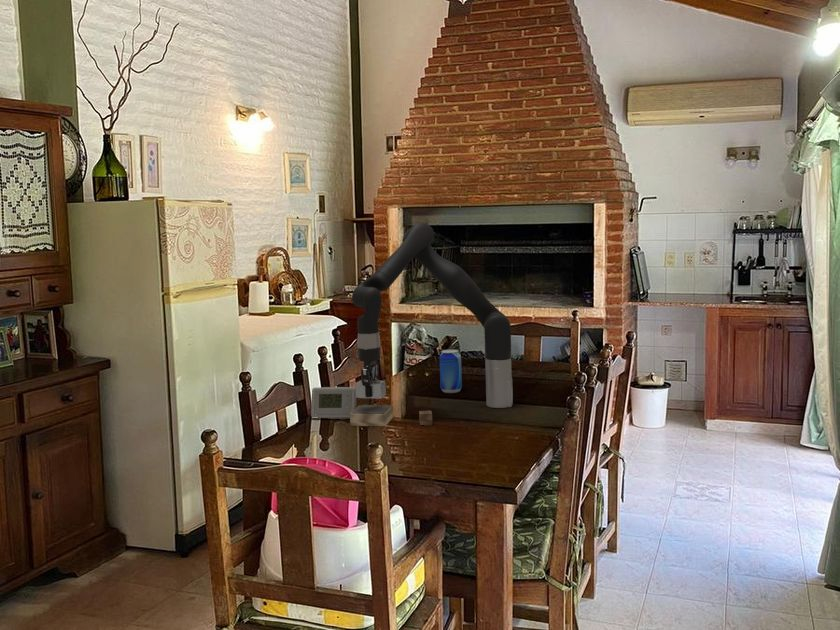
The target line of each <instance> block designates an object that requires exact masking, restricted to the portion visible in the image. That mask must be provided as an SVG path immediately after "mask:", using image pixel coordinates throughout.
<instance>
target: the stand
mask: <svg viewBox="0 0 840 630" xmlns="http://www.w3.org/2000/svg"><path fill="white" fill-rule="evenodd" d="M393 418H394V405H390V404H389V405H386V404H385V405H383V404H380V405H379V404H377V405H376V404H373V405H372V404H370V405H369V404H361V405H360V404H359V405H358V406H356V409H355V410H354V411H353V412H352V413H351V414H350V419H349V422H350V425H349V426H350V427H354V426H356V427H386V426H387V425H388V424H389V423H390V422H391V421H392V419H393Z"/></svg>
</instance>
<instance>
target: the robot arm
mask: <svg viewBox="0 0 840 630" xmlns="http://www.w3.org/2000/svg"><path fill="white" fill-rule="evenodd" d="M434 233H435V232H434V229H433V228H432V227H431V225H429V224H428V223H426V222H422V221H421V222H417V223H415V224H413V225H412V226H411V227H410V228H409V229H407V231H406V232H405V233H404V235H403V236H402V243H401V244H400V245H399V246H398V247H397V249H396V250H395V251H394V252H393V253H392V254H391V255H390V256H389V257H387V259H386V260H384V262H383V263H382V264H380V266H378V268H377V270H376V271H375V272H374V273H373V274H372V275H371V276H369V277H368V278H366V279H365V280H363V281H362V282H361V283H360V284H358V285H357V286H356V287H355V288H354V290H353V292H352V294H351V302H352V304H353V305H354V306H356V307H357V308H361V309H362V308H363V309H364V313H363V314H362V315H361V314H360V315H359V316H358V317H357V320H356V321H357V323H356V324H357V339H356V340H357V358H358V361H360V362H363V366H362V368H361V369H360V374H361V380H362V385H363V386H365V396H366V397H372V380H379V360H380V359H381V339H380V333H379V331H380V330H379V317H380V314H381V308H382V305H383V304H382V303H383V298H382V294H381V292H385V291H387V290H388V289H389V288H390V287H391V286H392V284H394V282H395V281H396V280H397V279H398V278H399V276H401V274H402V273H403V271H405V268H406V267H407V266H408V265H409V264H410V262H411V261H413V259H416V261H418V262H419V264H420V263H421V264H422V266H423V267H424V268H425V269H426V270H427V271H428V272H429V273H430V274H431V275H432V276H433V277H434V278H435V279H436V280H437V281H438V282H439V283H440V285H442V287H443V288H444V289H445V290H446V291H447V293H448V294H449V295H450V296H451V297H452V298H453V299H455V300H456V301H457V302H458V303H459V304H460V305H462V306H463V307H464V308H466V309H467V310H468V311H469V312H471V313H472V314H473V316H474V317H475V318H476V319H477V320H478V321H479V323H480V324H481V326H482V328H483V329H484V333H483V334H484V361H485V362H484V363H485V364H484V365H485V395H486V398H485V399H486V400H485V401H486V406H487V407H489V408H494V409H502V408H503V409H505V408H512V406H513V403H514V401H513V400H514V398H513V397H514V396H513V391H514V390H513V377H512V327H511V322H510V320H509V318H508V317H507V316H506V315H505V314H504V313H503V312H502V311H500V310H499V309H498V308H497V307H496V306H495V305H494V304H493V303H492V302H490V301H489V300H488V298H486V296H485V295H484V293H483V292H482V290H481V289H480V288H479V286H478V285H477V284H476V283H475V281H474V280H473V278H471V277H470V275H469V274H467V271H465V270H464V269H463V268H462V267H460V266H459V265H458V264H456V263H454V262H452V261H450V260H448V259H446V258H444V257H442V256H441V255H439V254H438V253H437V252H436V250H434V248H432V246H431V245H432V243H433V241H434V239H435V234H434ZM366 380H368V382H366Z"/></svg>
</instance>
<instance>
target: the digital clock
mask: <svg viewBox="0 0 840 630" xmlns="http://www.w3.org/2000/svg"><path fill="white" fill-rule="evenodd" d="M310 407H311V408H310V417H311V416H312V417H318V418H328V419H329V418H330V419H340V420H350V414H351V413H352V412H353V411H354V410H355V409H356V408H357V398H356V387H355V386H350V387H347V386H323V387H313V388H312V389H311V405H310ZM315 414H316V415H315Z"/></svg>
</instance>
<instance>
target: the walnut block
mask: <svg viewBox="0 0 840 630" xmlns="http://www.w3.org/2000/svg"><path fill="white" fill-rule="evenodd" d="M418 412H419V413H418V414H419V417H418V418H419V425H424V426H433V413H432V410H419V411H418Z"/></svg>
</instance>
